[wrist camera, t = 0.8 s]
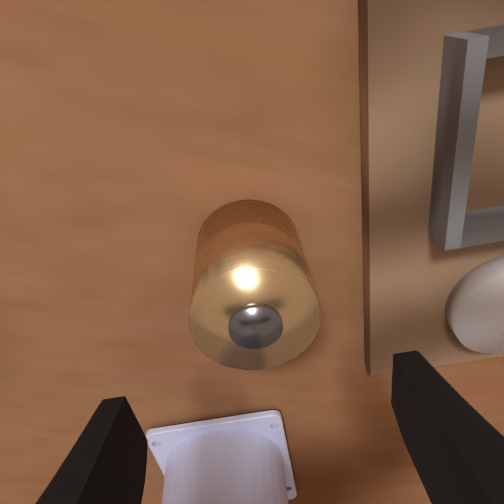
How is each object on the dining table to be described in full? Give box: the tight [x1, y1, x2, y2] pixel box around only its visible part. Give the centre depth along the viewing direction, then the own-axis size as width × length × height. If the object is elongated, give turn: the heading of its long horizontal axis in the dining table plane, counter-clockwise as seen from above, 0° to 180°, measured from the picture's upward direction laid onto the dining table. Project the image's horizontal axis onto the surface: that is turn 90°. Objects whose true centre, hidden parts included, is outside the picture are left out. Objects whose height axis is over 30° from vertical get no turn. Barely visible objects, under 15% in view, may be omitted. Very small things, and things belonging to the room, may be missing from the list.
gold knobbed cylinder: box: [189, 200, 321, 370], centre depth 16 cm, size 4×4×5 cm
